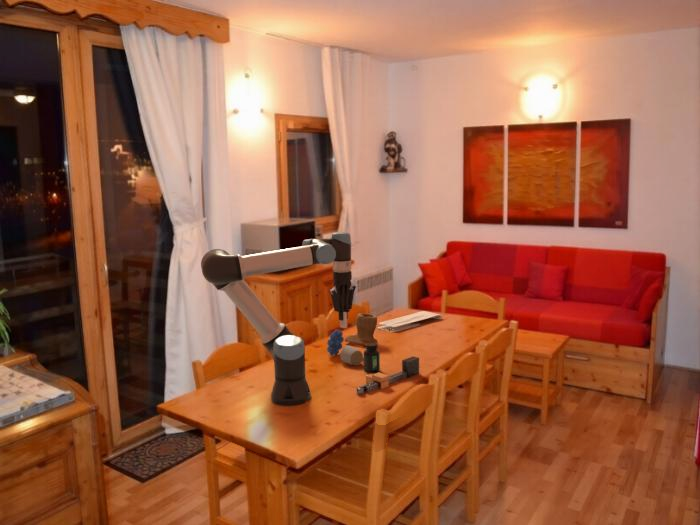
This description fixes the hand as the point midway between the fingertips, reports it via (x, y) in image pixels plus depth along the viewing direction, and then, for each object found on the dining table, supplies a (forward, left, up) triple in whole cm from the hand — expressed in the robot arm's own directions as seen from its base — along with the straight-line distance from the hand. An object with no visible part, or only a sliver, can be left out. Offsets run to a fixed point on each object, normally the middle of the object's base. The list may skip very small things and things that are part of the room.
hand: (343, 327), depth 245 cm
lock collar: (+4, -15, -22) cm, 27 cm away
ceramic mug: (+17, +12, -23) cm, 31 cm away
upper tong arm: (+9, -16, -22) cm, 29 cm away
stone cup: (+41, +31, -23) cm, 56 cm away
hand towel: (+84, +38, -23) cm, 95 cm away
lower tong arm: (+11, -17, -22) cm, 30 cm away
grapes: (+19, +28, -23) cm, 41 cm away
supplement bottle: (+15, -1, -23) cm, 27 cm away
